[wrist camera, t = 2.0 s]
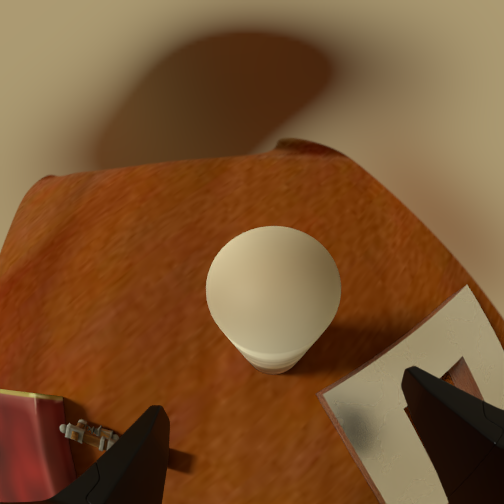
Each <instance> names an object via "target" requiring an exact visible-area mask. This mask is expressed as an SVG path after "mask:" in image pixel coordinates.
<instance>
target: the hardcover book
mask: <svg viewBox="0 0 504 504" xmlns="http://www.w3.org/2000/svg"><path fill="white" fill-rule="evenodd" d="M62 424H65V425H66V420H65V412H64V404H63V397H62V396H54V395H45V394H37V393H28V392H19V391H11V390H3V389H0V502H31V501H42V500H46V499H49V498H51V497H53V496H54V495H56V494H57V493H59V492H60V491H61V490H63V489H64V488H65V487H67V486H68V485H69V484H71V483H72V482H73V481H75V480H76V479H77V475H76V471H75V467H74V463H73V459H72V454H71V449H70V444H69V438H68V437H65V434H66V433H62V432H61V431H60V425H62Z"/></svg>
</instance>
